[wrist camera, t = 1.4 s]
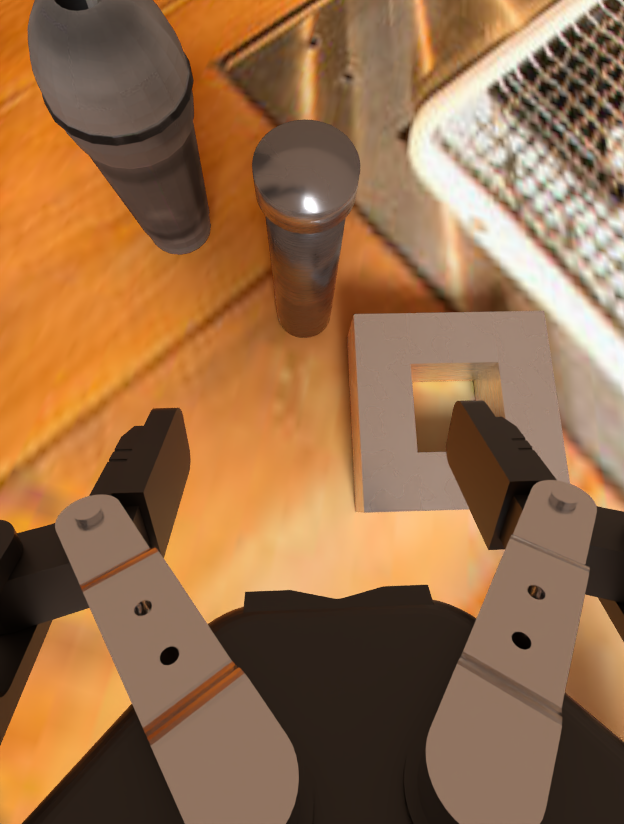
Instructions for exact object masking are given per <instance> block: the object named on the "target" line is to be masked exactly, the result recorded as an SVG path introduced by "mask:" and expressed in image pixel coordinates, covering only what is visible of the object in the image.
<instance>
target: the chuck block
mask: <svg viewBox="0 0 624 824" xmlns="http://www.w3.org/2000/svg"><path fill="white" fill-rule="evenodd" d="M347 346H348V367H349V387H350V408H351V428H352V449H353V469H354V490H355V510H356V512H396V511H429V510H462V509H469V507H468V505H467V503H466V501H465V498H464V496H463V494H462V492H461V490H460V488H459V486H458V483H457V481H456V479H455V477H454V475H453V473H452V471H451V468H450V466H449V464H448V461H447V455H446V452H419V453H418V451H417V438H416V426H415V413H414V401H413V388H412V382H422V381H468V380H473V381H474V390H475V399H476V401H480V400H483V401H485V402H486V404H487V405H488V406H489V408H490V409H491V411H492V412H493V414H494V415H495V416H496V417H503V418H505V419H506V420H508V421H509V422H511V423H512V424H514V425H515V426H517V428H518V429H519V430H520V432H521V433H522V434H523V436H524V437H525V440H527V441H528V442H529V444H530V445H531V446H532V449H533V450H535V452H536V453H537V454H538V456H539V457H540V458H541V460H542V461H543V462H544V464H545V465H546V466H547V468H548V469H549V470H550V471H551V473H552V474H553V475H554V477H555V478H556V479H557V481H562V482H566V483H569V484H570V481H569V474H568V467H567V461H566V454H565V447H564V441H563V434H562V427H561V421H560V414H559V407H558V401H557V394H556V387H555V381H554V374H553V367H552V360H551V354H550V347H549V340H548V334H547V327H546V320H545V314H544V311H505V312H447V313H388V314H354V315H353V318H352V322H351V326H350V329H349V333H348V337H347Z"/></svg>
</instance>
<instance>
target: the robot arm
mask: <svg viewBox="0 0 624 824" xmlns="http://www.w3.org/2000/svg"><path fill="white" fill-rule="evenodd" d="M446 455H447V461H448V464H449V466H450V468H451V471H452V473H453V475H454V477H455V479H456V481H457V483H458V486H459V488H460V490H461V492H462V494H463V496H464V498H465V501H466V503H467V505H468V507H469V509H470V511H471V513H472V516H473V518H474V520H475V522H476V524H477V526H478V529H479V531H480V533H481V535H482V537H483V539H484V541H485V544H486V546H487V548H488V550H499V549H505V551H504V554H503V556H502V559H501V561H500V563H499V566H498V568H497V571H496V573H495V575H494V578H493V580H492V583H491V585H490V588H489V590H488V592H487V595H486V597H485V600H484V602H483V604H482V607H481V609H480V612H479V614H478V617H477V619H476V618H475V617H473V616H472V615H470V614H468V613H467V612H465V611H463V610H461V609H459V608H457V607H454V606H452V605H450V604H447V603H443V602H440V601H436V600H432V597H431V594H430V590H429V587H428V585H410V586H385V587H380V588H377V589H373V590H370V591H366V592H363V593H359V594H356V595H352V596H349V597H345V598H341V599H333V598H328V597H323V596H318V595H313V594H307V593H302V592H297V591H292V590H283V591H257V592H245V601H244V607H241V608H238V609H235V610H233V611H230V612H228V613H226V614H224V615H222V616H220V617H218V618H216V619H215V620H213V621H212V622H210V623H209V624H207V623H206V621H205V620H204V618H203V617H202V615H201V614H200V612H199V611H198V609H197V608H196V606H195V605H194V603H193V602H192V600H191V599H190V597H189V596H188V594H187V593H186V591H185V590H184V588H183V587H182V585H181V584H180V582H179V581H178V579H177V578H176V576H175V575H174V573H173V572H172V570H171V569H170V567H169V566H168V564H167V563H166V561H165V560H164V555H165V552H166V549H167V545H168V542H169V538H170V535H171V532H172V528H173V525H174V521H175V518H176V515H177V511H178V508H179V504H180V501H181V498H182V494H183V491H184V487H185V484H186V481H187V477H188V474H189V470H190V449H189V444H188V439H187V434H186V429H185V424H184V419H183V414H182V411H181V409H180V408H155V409H152V410H151V412H150V414H149V416H148V418H147V420H146V422H145V425H144V426H134V427H133V428H132V429H130V430H129V431H128V432H127V433H126V434H124V435H123V436H122V437H121V439H120V440H119V442H118V444H117V446H116V448H115V452H113V453H112V455H111V457H110V459H109V462H107V464H106V466H105V468H104V470H103V472H102V473H101V475H100V477H99V479H98V481H97V483H96V484H95V486H94V488H93V490H92V492H91V494H90V495H89V496H88V497H85V498H82V499H79V500H77V501H75V502H74V503H72V504H70V505H69V506H68V507H66V508H65V509H64V510H63V511H62V512H61V513H60V515H59V516H58V518H57V520H56V523H54V524H51V525H47V526H44V527H40V528H36V529H32V530H28V531H25V532H21V533H16V531H15V529H14V527H13V526H12V525H11V524H10V523H9V522H7V521H4V520H0V745H1V742H2V740H3V737H4V735H5V733H6V730H7V728H8V725H9V723H10V721H11V718H12V716H13V713H14V711H15V709H16V706H17V704H18V701H19V699H20V697H21V694H22V692H23V689H24V687H25V685H26V682H27V680H28V677H29V675H30V673H31V670H32V668H33V666H34V663H35V661H36V658H37V656H38V654H39V651H40V649H41V646H42V644H43V642H44V639H45V637H46V634H47V632H48V630H49V627H50V625H51V622H52V620H53V619H56V618H59V617H62V616H65V615H68V614H72V613H75V612H78V611H81V610H84V609H87V608H90V610H91V612H92V614H93V616H94V619H95V621H96V623H97V625H98V628H99V630H100V632H101V634H102V637H103V639H104V641H105V643H106V646H107V648H108V650H109V653H110V655H111V657H112V659H113V662H114V664H115V666H116V668H117V671H118V673H119V675H120V677H121V680H122V682H123V684H124V686H125V689H126V691H127V693H128V695H129V698H130V700H131V702H132V704H131V705H130V706H129V707H128V708H127V710H126V711H125V712H124V713H123V714H122V715H121V716H120V717H119V718H118V719H117V720H116V722H115V723H114V724H113V725H112V726H111V727H110V728H109V729H108V730H107V731H106V732H105V734H104V735H103V736H102V737H101V738H100V739H99V740H98V741H97V742H96V743H95V744H94V746H93V747H92V748H91V749H90V750H89V751H88V752H87V753H86V754H85V755H84V756H83V758H82V759H81V760H80V761H79V762H78V763H77V764H76V765H75V766H74V767H73V768H72V769H71V771H70V772H69V773H68V774H67V775H66V776H65V777H64V778H63V779H62V780H61V781H60V783H59V784H58V785H57V786H56V787H55V788H54V789H53V790H52V791H51V792H50V793H49V795H48V796H47V797H46V798H45V799H44V800H43V801H42V802H41V803H40V804H39V805H38V807H37V808H36V809H35V810H34V811H33V812H32V813H31V814H30V815H29V816H28V817H27V819H26V820H25V821H24V822H23V823H22V824H624V742H623V741H622V740H621V739H619V738H618V737H617V736H616V735H615V734H613V733H612V732H611V731H610V730H609V729H608V728H606V727H605V726H604V725H603V724H602V723H600V722H599V721H598V720H597V719H596V718H595V717H593V716H592V715H591V714H590V713H589V712H587V711H586V710H585V709H584V708H583V707H582V706H580V705H579V704H578V703H577V702H576V701H574V700H573V699H572V698H571V697H570V696H569V695H567V694H566V693H565V689H566V684H567V679H568V674H569V669H570V665H571V660H572V655H573V650H574V645H575V640H576V635H577V631H578V626H579V621H580V616H581V611H582V606H583V601H584V597H585V594H586V595H590V596H595V597H598V598H599V600H600V602H601V604H602V605H603V607H604V609H605V610H606V612H607V614H608V616H609V617H610V619H611V621H612V622H613V624H614V626H615V628H616V629H617V631H618V633H619V634H620V636H621V638H622V640H623V641H624V512H622V511H617V510H612V509H607V508H602V507H597V506H596V504H595V502H594V501H593V499H592V498H591V497H590V496H589V495H588V494H587V493H586V492H584V491H583V490H581V489H580V488H578V487H576V486H574V485H571V484H569V483H566V482H562V481H557V479H556V478H555V477H554V475H553V474H552V473H551V471H550V470H549V469H548V468H547V466H546V465H545V464H544V462H543V461H542V460H541V458H540V457H539V456H538V454H537V453H536V452H535V450H533V449H532V446H531V445H530V444H529V442H528V441H527V440H525V437H524V436H523V434H522V433H521V432H520V430H519V429H518V428H517V426H515V425H514V424H512V423H511V422H509V421H508V420H506V419H505V418H503V417H496V416H495V415H494V414H493V412H492V411H491V409H490V408H489V406H488V405H487V404H486V402H485V401H483V400H480V401H457V402H456V403H455V405H454V408H453V413H452V418H451V423H450V428H449V434H448V439H447V444H446Z"/></svg>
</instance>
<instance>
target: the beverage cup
mask: <svg viewBox="0 0 624 824" xmlns="http://www.w3.org/2000/svg"><path fill="white" fill-rule="evenodd" d="M28 44H29V52H30V60H31V65H32V70H33V73H34V76H35V79H36V81H37V84H38V86H39V88H40V90H41V92H42V96H43V99H44V102H45V105H46V107H47V108H48V110H49V112H50V114H51V116H52V117H53V119H54V121H55V122H56V123H57V124H58V125H60V126H61V127H62V128H63V129H64V130H65V131H66V133H67V134H68V135H69V136H70V137H71V138H72V139H73V140H74V141H75V142H76V144H77V145H78V146H79V147H80V148H81V149H82V150H83V151H85V152H86V153H87V154H88V155H89V156H90V157H91V159H92V160H93V162H94V163H95V164H96V166H97V167H98V168H99V170H100V171H101V172H102V174H103V175H104V177H105V178H106V179H107V181H108V182H109V183H110V185H111V186H112V187H113V189H114V190H115V192H116V193H117V194H118V196H119V197H120V198H121V200H122V201H123V202H124V204H125V205H126V207H127V208H128V209H129V211H130V212H131V213H132V215H133V216H134V217H135V219H136V220H137V222H138V223H139V224H140V226H141V227H142V228H143V230H144V231H145V232H146V233H147V234H148V235H149V236H150V237H151V239H152V240H153V241H154V243H155V244H156V245H157V246H158V247H159V248H160V249H162V250H163V251H166V252H168V253H171V254H186V253H190V252H192V251H194V250H196V249H198V248H200V247H201V246H202V245H203V244H204V243H205V242H206V240H207V238H208V236H209V234H210V228H211V224H210V219H209V207H208V202H207V196H206V191H205V185H204V179H203V174H202V168H201V163H200V157H199V152H198V146H197V141H196V135H195V130H194V124H193V118H194V105H193V93H192V86H193V76H192V72H191V67H190V62H189V60H188V58H187V56H186V55H185V53H184V52H183V49H182V46H181V43H180V41H179V39H178V37H177V35H176V33H175V31H174V30H173V28H172V27H171V25H170V24H169V22H168V21H167V19H166V18H165V16H164V15H163V13H162V12H161V10H160V9H159V7H158V6H157V4H156V3H155V2H154V1H153V0H35V1H34V4H33V7H32V11H31V14H30V19H29V24H28Z"/></svg>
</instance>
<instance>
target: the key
mask: <svg viewBox="0 0 624 824" xmlns="http://www.w3.org/2000/svg"><path fill="white" fill-rule="evenodd" d="M252 169H253V177H254V184H255V191H256V197H257V201H258V204H259V206H260V208H261V210H262V212H263V213H264V214H265V216H266V224H267V232H268V240H269V249H270V257H271V265H272V274H273V282H274V290H275V298H276V307H277V315H278V320H279V322H280V324H281V326H282V327H283V329H284V330H285V331H287V332H288V333H289V334H291V335H293V336H296V337H301V338H307V337H312V336H315V335H317V334H319V333H320V332H322V331H323V330H324V329H325V328H326V326H327V325H328V323H329V320H330V315H331V308H332V302H333V295H334V289H335V282H336V276H337V269H338V263H339V256H340V250H341V243H342V237H343V230H344V224H345V218H346V216H347V215H348V214H349V212H350V211H351V209H352V207H353V205H354V202H355V197H356V191H357V186H358V180H359V174H360V160H359V156H358V152H357V150H356V148H355V146H354V145H353V143H352V142H351V140H350V139H349V138H348V137H347V136H346V135H345V134H344V133H343V132H341V131H340V130H338V129H337V128H335V127H333V126H331V125H329V124H326V123H323V122H320V121H314V120H296V121H291V122H287V123H284V124H282V125H279V126H277V127H276V128H274V129H272V130H271V131H270V132H268V133H267V134H266V135H265V136H264V137H263V138H262V140H261V141H260V142H259V144H258V146H257V147H256V150H255V152H254V156H253V162H252Z"/></svg>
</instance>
